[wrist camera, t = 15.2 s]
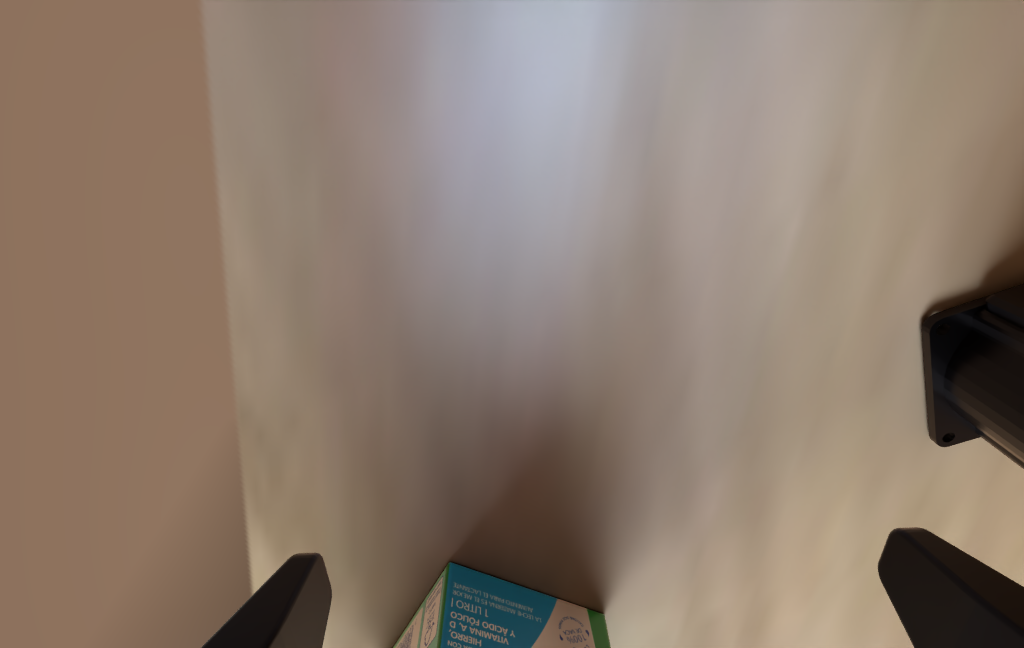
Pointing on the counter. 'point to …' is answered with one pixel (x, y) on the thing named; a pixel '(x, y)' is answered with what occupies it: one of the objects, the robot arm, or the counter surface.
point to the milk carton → (498, 617)
